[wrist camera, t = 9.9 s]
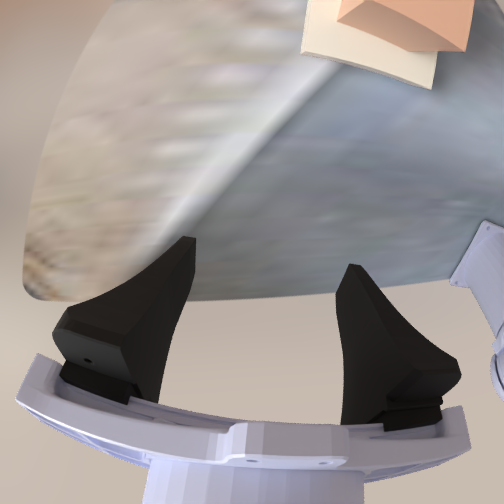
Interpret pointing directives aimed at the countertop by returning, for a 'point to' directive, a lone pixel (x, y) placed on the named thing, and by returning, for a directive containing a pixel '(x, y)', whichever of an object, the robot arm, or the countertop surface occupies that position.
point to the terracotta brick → (412, 22)
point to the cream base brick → (362, 47)
